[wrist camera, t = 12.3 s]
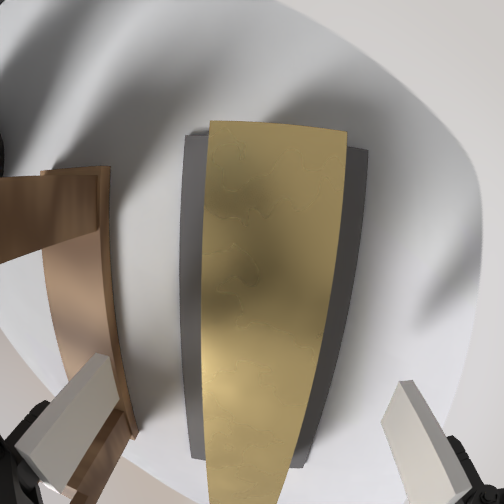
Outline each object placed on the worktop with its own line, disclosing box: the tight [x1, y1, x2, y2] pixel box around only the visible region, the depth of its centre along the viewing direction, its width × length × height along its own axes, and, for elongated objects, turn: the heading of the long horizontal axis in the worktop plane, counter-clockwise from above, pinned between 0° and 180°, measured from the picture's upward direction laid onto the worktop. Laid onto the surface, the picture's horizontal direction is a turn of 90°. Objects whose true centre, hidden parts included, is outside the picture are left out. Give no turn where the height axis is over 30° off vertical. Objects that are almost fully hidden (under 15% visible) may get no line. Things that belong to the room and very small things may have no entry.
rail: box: [201, 121, 347, 504], centre depth 13 cm, size 22×4×6 cm, turn 176°
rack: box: [0, 166, 139, 504], centre depth 11 cm, size 20×6×11 cm, turn 176°
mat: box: [179, 135, 368, 468], centre depth 16 cm, size 23×9×1 cm, turn 176°
